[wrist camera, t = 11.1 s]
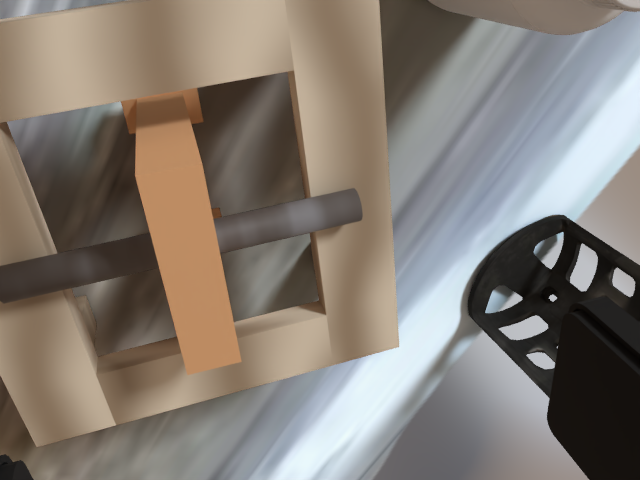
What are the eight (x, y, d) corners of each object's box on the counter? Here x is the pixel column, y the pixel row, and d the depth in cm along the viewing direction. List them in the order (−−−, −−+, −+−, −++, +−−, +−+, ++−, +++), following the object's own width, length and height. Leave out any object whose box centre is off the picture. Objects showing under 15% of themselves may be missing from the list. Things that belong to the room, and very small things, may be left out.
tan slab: (160, 248, 36) (169, 383, 25) (120, 92, 31) (110, 174, 20) (224, 236, 37) (259, 360, 26) (194, 81, 32) (223, 155, 21)
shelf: (59, 333, 38) (31, 471, 28) (-75, 14, 29) (-189, 56, 19) (346, 263, 42) (410, 364, 32) (314, -41, 32) (391, -31, 22)
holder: (536, 192, 43) (807, 373, 27) (589, 227, 47) (851, 404, 31) (448, 305, 46) (645, 529, 30) (505, 330, 50) (705, 538, 34)
